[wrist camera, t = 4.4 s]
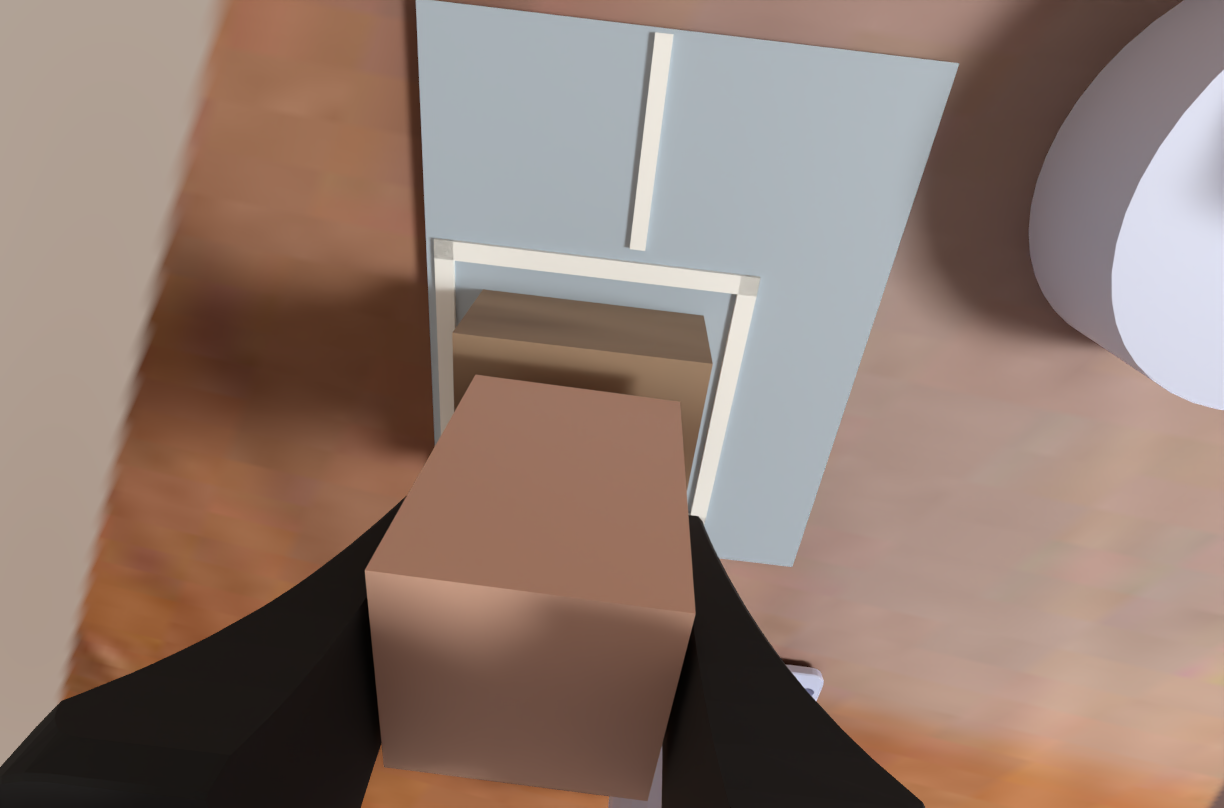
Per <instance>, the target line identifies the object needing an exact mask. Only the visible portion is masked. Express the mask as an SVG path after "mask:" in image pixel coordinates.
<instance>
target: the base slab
mask: <svg viewBox="0 0 1224 808" xmlns="http://www.w3.org/2000/svg"><path fill="white" fill-rule="evenodd" d="M452 345H453V388H454V412H455V410H456V408H457V406H458V405H459V403H460V401H461V399H462V398H463V396H464V394H465V392H466V390H467V389H468V387H469V385H470V383H471V382H472V380H473V378H474V376H475V375H483V376H490V377H498V378H505V379H513V380H520V381H528V382H535V383H543V384H550V385H558V386H565V387H573V388H580V389H588V390H596V391H603V392H611V393H618V394H626V395H633V396H641V397H648V398H656V399H663V400H671V401H678V402H680V407H681V421H682V434H683V448H684V462H685V475H686V489H687V488H688V483H689V478H690V474H691V469H692V464H693V459H694V454H695V449H696V444H697V439H698V434H699V429H700V424H701V420H702V415H703V410H704V405H705V400H706V395H707V390H708V385H709V380H710V375H711V370H712V365H713V362H712V357H711V352H710V346H709V341H708V336H707V330H706V325H705V320H704V316H703V315H695V314H686V313H678V312H669V311H661V310H653V309H644V308H636V307H627V306H619V305H611V304H602V303H594V302H585V301H577V300H569V299H560V298H552V297H543V296H535V295H527V294H518V293H510V292H501V291H493V290H485V289H483V290H482V291H481V293H480V294H479V296H478V297H477V299H476V300H475V301H474V303H473V304H472V306H471V307H470V308H469V310H468V311H467V313H466V314H465V316H464V317H463V318H462V320H461V321H460V323H459V324H458V325H457V327H456V328H455V330H454V331H453V333H452Z"/></svg>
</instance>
